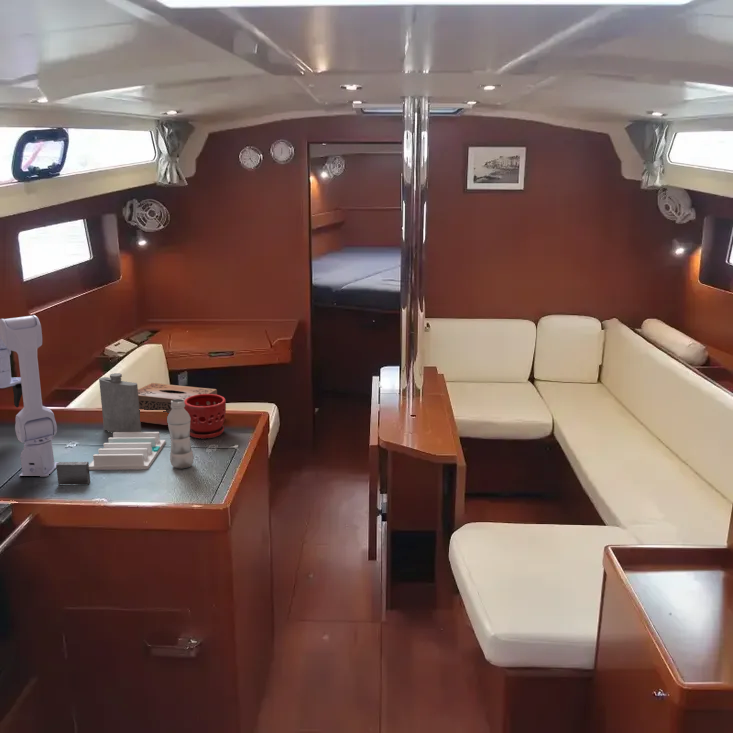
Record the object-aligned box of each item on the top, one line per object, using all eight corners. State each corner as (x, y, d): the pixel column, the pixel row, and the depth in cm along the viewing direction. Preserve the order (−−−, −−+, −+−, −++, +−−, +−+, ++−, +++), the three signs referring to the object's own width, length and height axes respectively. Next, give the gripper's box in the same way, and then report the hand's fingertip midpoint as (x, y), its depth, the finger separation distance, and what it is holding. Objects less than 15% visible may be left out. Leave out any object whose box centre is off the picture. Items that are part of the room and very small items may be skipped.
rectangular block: (88, 485, 203) (85, 464, 201) (58, 485, 202) (56, 464, 201) (90, 482, 204) (88, 461, 203) (61, 482, 204) (58, 462, 203)
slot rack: (147, 469, 213) (146, 456, 212) (88, 469, 213) (86, 456, 212) (165, 443, 233) (164, 430, 232) (111, 443, 233) (109, 431, 232)
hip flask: (143, 435, 240) (138, 375, 235) (134, 439, 236) (128, 378, 231) (109, 427, 248) (104, 369, 242) (99, 430, 244) (93, 372, 239)
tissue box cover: (130, 422, 253) (127, 394, 251) (154, 409, 266) (152, 382, 264) (196, 430, 245) (194, 401, 243) (218, 416, 259) (216, 389, 256)
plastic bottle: (188, 472, 211) (184, 404, 206) (166, 470, 212) (161, 403, 207) (198, 463, 217) (193, 398, 212) (176, 461, 218) (171, 396, 213)
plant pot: (178, 439, 236) (175, 403, 233) (199, 426, 249) (196, 391, 246) (215, 443, 233) (213, 407, 230) (234, 429, 245) (232, 395, 242)
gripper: (20, 360, 235) (23, 399, 240) (-30, 368, 226) (-26, 408, 231) (28, 368, 231) (31, 407, 236) (-23, 376, 221) (-19, 417, 227)
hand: (3, 408), depth 233 cm, fingers open, 7 cm apart
